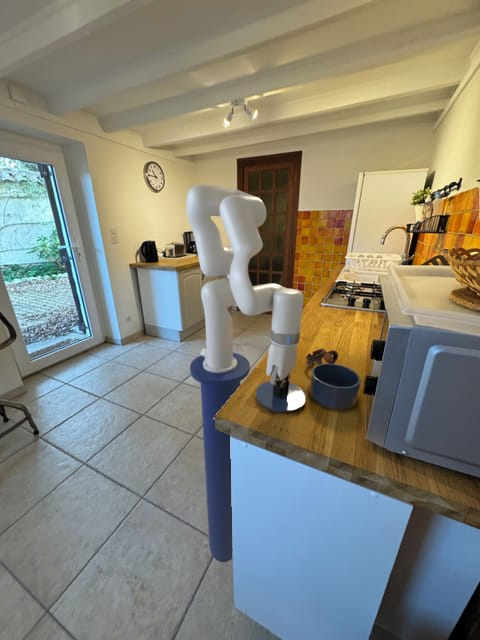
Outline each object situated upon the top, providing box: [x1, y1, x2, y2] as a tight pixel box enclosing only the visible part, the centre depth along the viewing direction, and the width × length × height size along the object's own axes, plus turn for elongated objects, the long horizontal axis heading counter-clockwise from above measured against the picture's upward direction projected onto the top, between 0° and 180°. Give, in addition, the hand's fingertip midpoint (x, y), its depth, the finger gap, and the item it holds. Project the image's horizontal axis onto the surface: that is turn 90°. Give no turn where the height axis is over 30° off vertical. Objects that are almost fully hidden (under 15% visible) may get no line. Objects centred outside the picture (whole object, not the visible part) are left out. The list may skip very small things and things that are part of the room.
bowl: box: [309, 362, 362, 411], centre depth 74 cm, size 13×13×7 cm
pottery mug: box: [305, 348, 339, 367], centre depth 90 cm, size 12×9×8 cm
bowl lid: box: [255, 378, 307, 413], centre depth 73 cm, size 14×14×6 cm
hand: (280, 393), depth 73 cm, fingers closed on bowl lid, 2 cm apart
